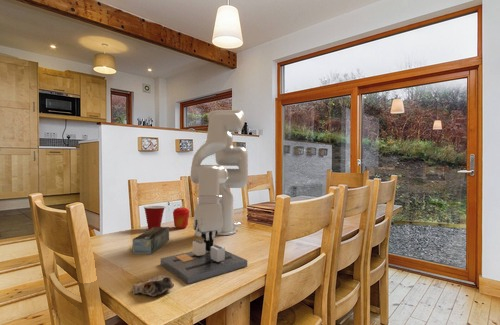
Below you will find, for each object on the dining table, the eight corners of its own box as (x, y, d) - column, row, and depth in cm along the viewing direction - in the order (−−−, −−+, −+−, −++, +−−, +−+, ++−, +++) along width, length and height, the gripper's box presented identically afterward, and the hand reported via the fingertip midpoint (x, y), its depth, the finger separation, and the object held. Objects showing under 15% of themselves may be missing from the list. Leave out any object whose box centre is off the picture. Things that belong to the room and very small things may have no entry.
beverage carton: (131, 254, 106) (131, 237, 106) (152, 240, 125) (152, 225, 125) (151, 255, 106) (151, 237, 106) (170, 240, 125) (170, 226, 125)
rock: (178, 289, 78) (153, 275, 83) (177, 271, 76) (152, 258, 81) (153, 310, 71) (127, 293, 76) (151, 292, 69) (125, 275, 74)
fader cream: (199, 251, 102) (199, 238, 102) (205, 254, 99) (205, 241, 99) (192, 252, 100) (192, 240, 100) (198, 255, 97) (198, 242, 97)
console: (215, 251, 110) (215, 245, 110) (247, 266, 94) (247, 259, 94) (160, 264, 96) (160, 257, 96) (188, 284, 80) (188, 276, 80)
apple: (191, 228, 146) (191, 206, 146) (175, 230, 142) (175, 207, 142) (186, 225, 154) (186, 203, 154) (171, 226, 150) (171, 204, 150)
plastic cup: (169, 227, 149) (169, 204, 149) (158, 232, 139) (159, 207, 138) (150, 226, 151) (150, 203, 151) (138, 230, 141) (139, 207, 140)
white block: (218, 256, 96) (218, 243, 96) (224, 259, 93) (224, 246, 93) (210, 258, 94) (210, 245, 94) (217, 261, 91) (217, 248, 91)
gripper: (220, 197, 109) (219, 243, 110) (185, 200, 100) (185, 251, 100) (231, 199, 104) (231, 248, 104) (195, 202, 94) (195, 257, 94)
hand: (208, 249), depth 102 cm, fingers closed
